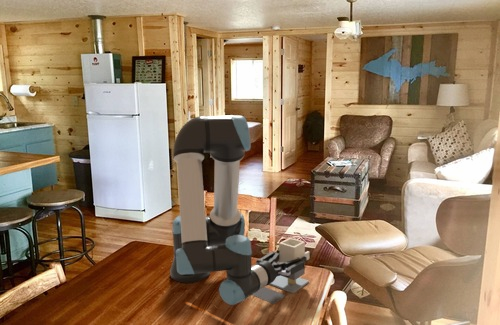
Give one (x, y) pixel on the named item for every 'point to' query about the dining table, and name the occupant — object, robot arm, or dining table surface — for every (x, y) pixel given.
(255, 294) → the mat
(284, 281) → the pin board
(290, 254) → the sleeve
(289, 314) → the dining table surface
